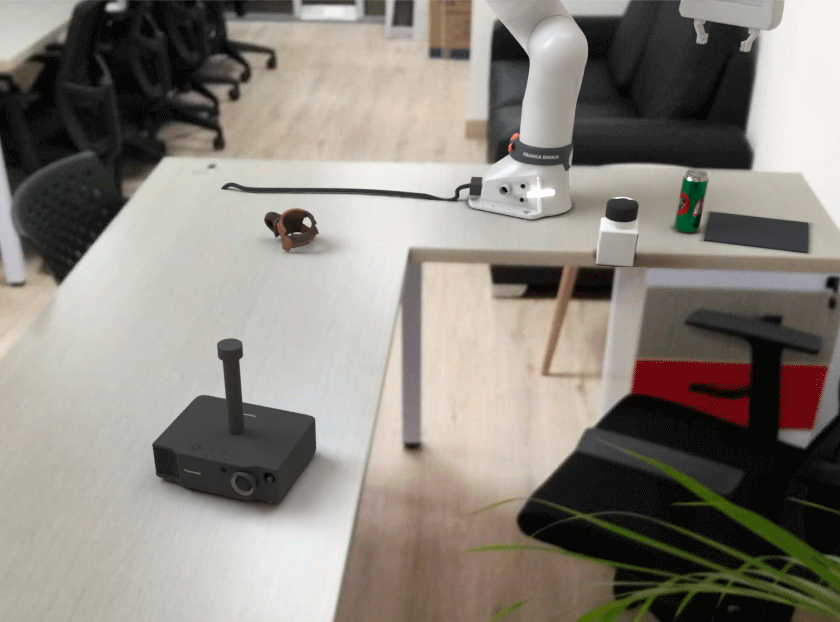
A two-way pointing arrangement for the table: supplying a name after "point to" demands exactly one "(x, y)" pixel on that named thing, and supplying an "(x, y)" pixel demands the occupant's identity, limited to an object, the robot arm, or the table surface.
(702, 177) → the soda can
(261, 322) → the table surface
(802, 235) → the desk pad
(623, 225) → the medicine bottle
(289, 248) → the brown curved piece
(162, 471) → the projector
